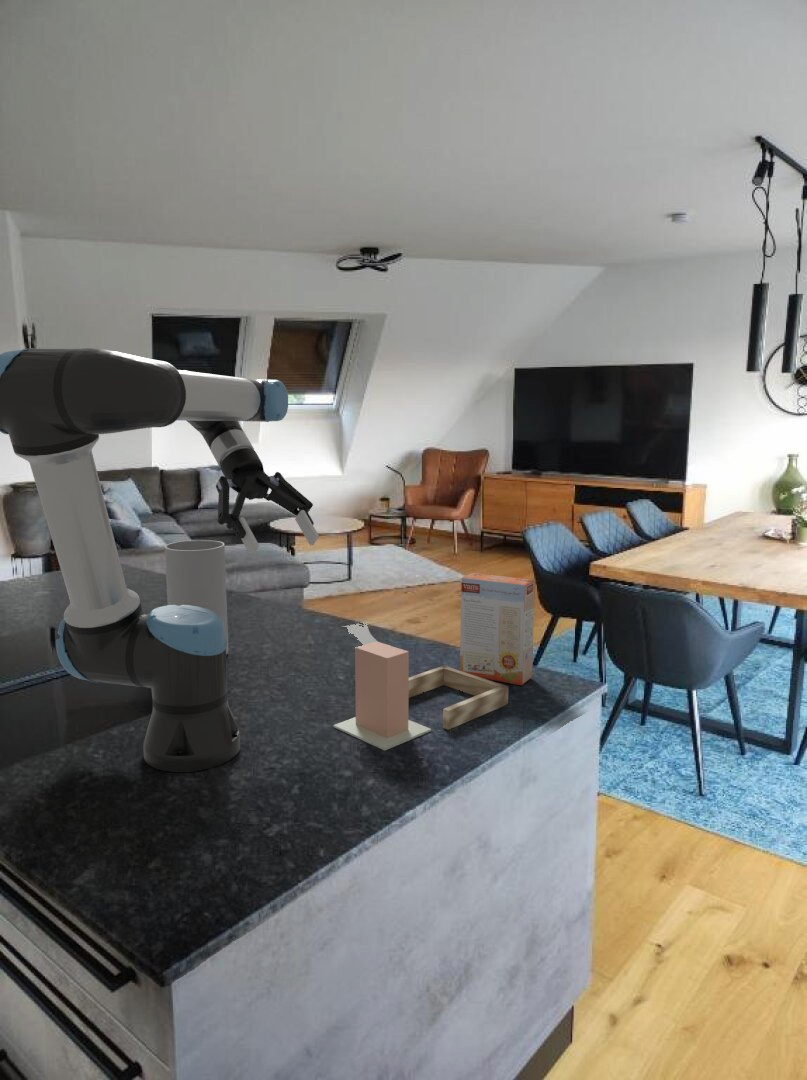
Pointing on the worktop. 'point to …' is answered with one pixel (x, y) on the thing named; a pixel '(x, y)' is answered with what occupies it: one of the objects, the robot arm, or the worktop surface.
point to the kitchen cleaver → (361, 633)
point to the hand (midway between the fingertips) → (285, 545)
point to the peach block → (382, 688)
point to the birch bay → (483, 690)
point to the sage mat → (377, 739)
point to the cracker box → (497, 627)
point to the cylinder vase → (197, 576)
